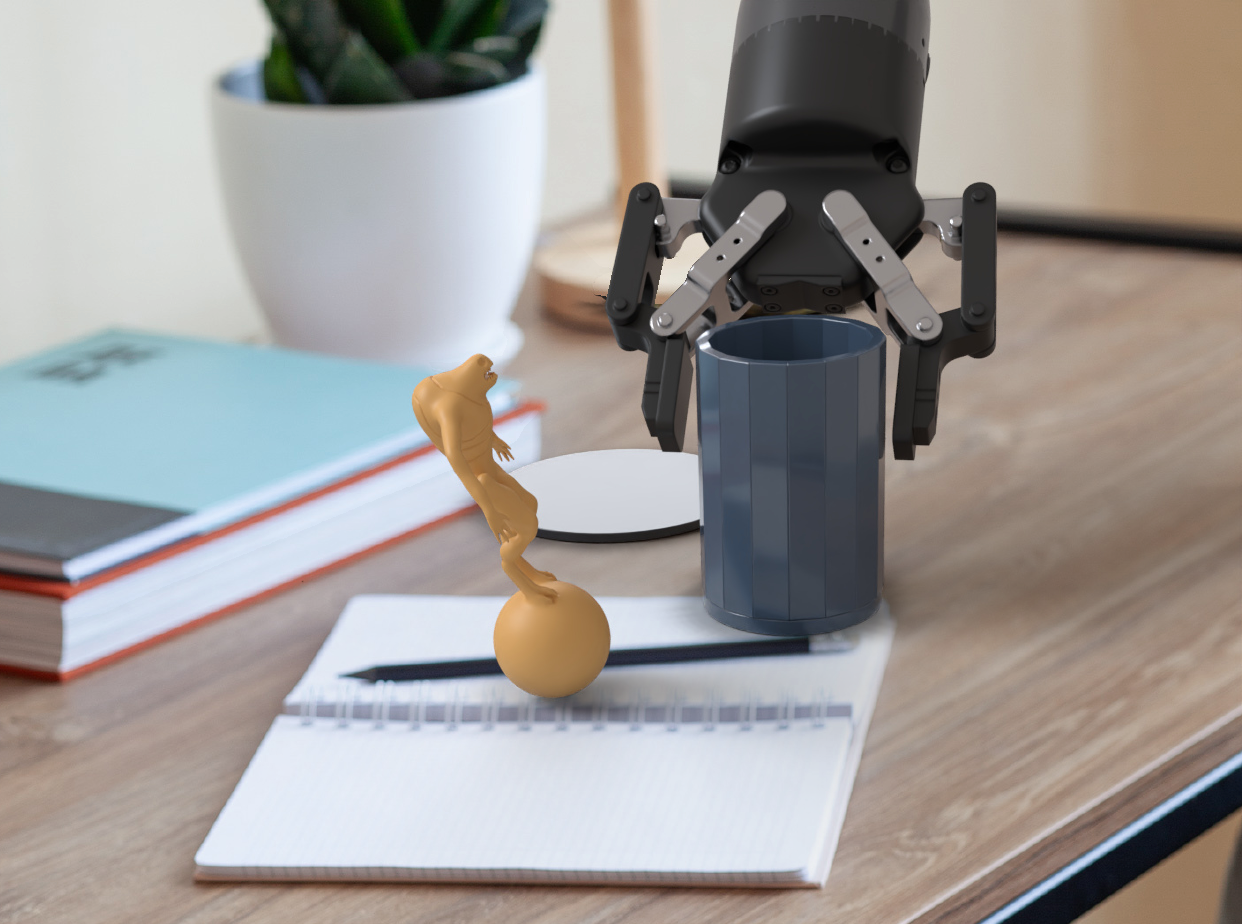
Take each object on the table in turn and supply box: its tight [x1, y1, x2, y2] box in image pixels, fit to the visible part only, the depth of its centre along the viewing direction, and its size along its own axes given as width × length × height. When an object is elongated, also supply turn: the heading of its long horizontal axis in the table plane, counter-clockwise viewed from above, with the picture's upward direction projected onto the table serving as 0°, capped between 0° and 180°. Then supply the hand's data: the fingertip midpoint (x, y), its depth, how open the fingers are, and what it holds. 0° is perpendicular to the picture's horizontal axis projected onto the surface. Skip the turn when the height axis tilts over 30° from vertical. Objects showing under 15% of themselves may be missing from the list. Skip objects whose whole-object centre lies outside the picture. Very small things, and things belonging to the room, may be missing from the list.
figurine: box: [411, 353, 612, 699], centre depth 69 cm, size 8×6×12 cm
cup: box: [694, 314, 888, 636], centre depth 76 cm, size 7×7×10 cm
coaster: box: [507, 448, 700, 543], centre depth 89 cm, size 11×11×1 cm
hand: (784, 447), depth 76 cm, fingers open, 8 cm apart
